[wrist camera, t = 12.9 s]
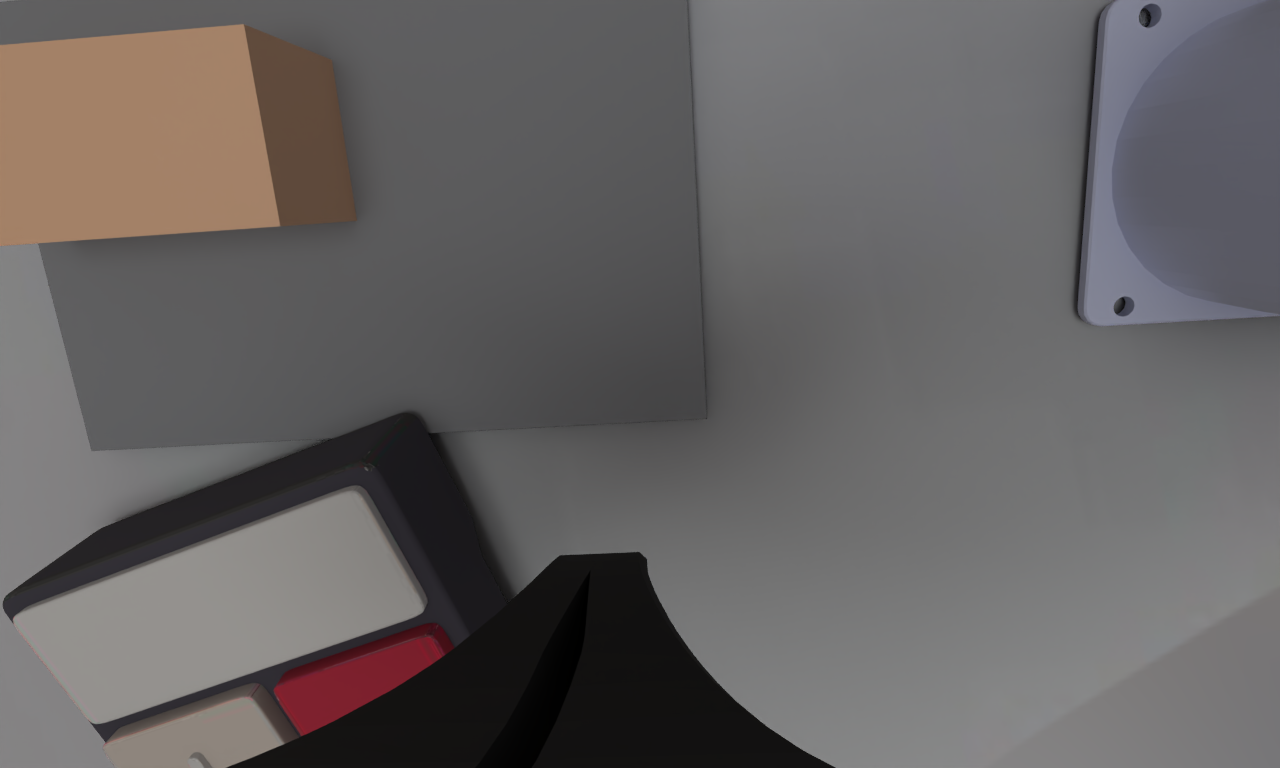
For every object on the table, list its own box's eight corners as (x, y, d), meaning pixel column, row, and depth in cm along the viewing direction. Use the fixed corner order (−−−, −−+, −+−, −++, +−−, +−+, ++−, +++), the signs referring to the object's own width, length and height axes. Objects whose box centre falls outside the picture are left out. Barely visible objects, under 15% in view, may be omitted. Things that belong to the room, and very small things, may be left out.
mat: (684, -52, 18) (684, -59, 18) (706, 413, 21) (706, 419, 21) (-6, 9, 19) (-24, 4, 19) (104, 445, 22) (91, 451, 22)
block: (243, 24, 15) (-129, 56, 15) (280, 226, 16) (-71, 251, 16) (331, 59, 19) (32, 84, 19) (357, 221, 20) (71, 240, 20)
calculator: (277, 1011, 23) (-37, 619, 18) (335, 876, 27) (90, 530, 22) (612, 921, 21) (356, 472, 17) (619, 793, 25) (415, 405, 21)
